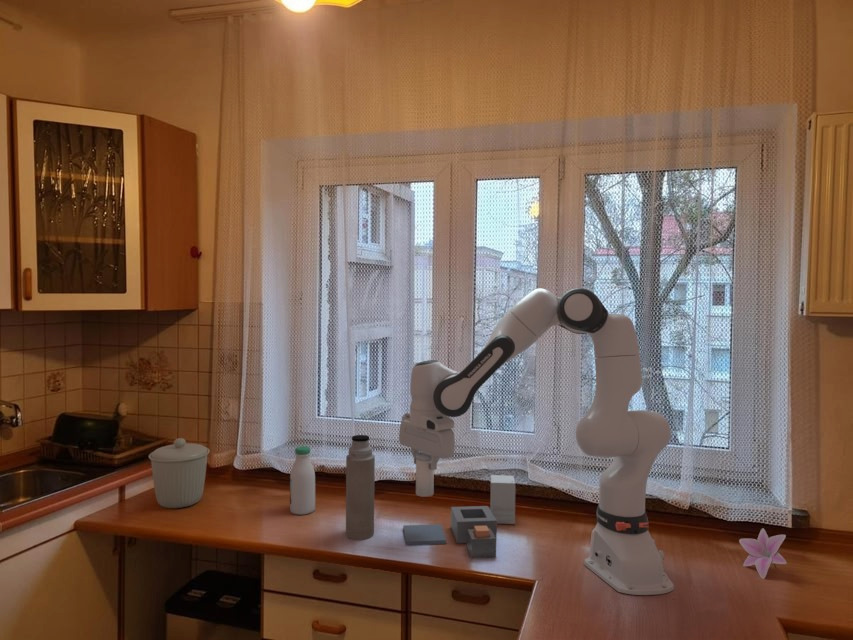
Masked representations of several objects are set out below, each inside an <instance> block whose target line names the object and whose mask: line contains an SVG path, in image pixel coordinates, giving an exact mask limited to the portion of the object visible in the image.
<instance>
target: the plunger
mask: <svg viewBox="0 0 853 640" xmlns="http://www.w3.org/2000/svg"><path fill="white" fill-rule="evenodd" d="M474 535H475V537H489V529H488V527H487V526H474Z"/></svg>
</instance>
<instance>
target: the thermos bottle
mask: <svg viewBox="0 0 853 640" xmlns="http://www.w3.org/2000/svg"><path fill="white" fill-rule="evenodd" d="M351 440H352V441H351V446H350V447H348V454H347V455H346V458H345V459H346V461H345V462H346V464H345V465H346V466H345V467H346V468H345V469H346V470H345V486H346V488H345V536H346V537H347V538H349V539H350V540H356V541H357V540H359V541H361V540H362V541H363V540H368V539H370V538H372V537H373V536H374V535H375V469H376V468H375V467H376V466H375V464H376V463H375V460H376V459H375V457H376V456H375V454H373V452H374V451H373V447H372V446H371V445H370V436H369V435H366V434H356V435H353V436H351Z"/></svg>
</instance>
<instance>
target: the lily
mask: <svg viewBox="0 0 853 640" xmlns="http://www.w3.org/2000/svg"><path fill="white" fill-rule="evenodd" d="M786 536H787V535H786V534H777V535H773V536H770V537H769V535H768V534H767V531H766V530H765V528H763V527H762V528H761V529H760V532H759V534H758V537H757V539H755V538H745V537H744V538H740V539H739V540H738V541H739V544H740V545H741V547H742V548H743V549H744V551H746V553H748V556H747V557H746V559H745V560H744V562H743V565H742V566H743V567H750V566H755V568H756V571H757V574H758V575H759V576H760V578H761V579H763V580H764V579H765V578H766V576H767V574H768V571H769V568H770V566H771V564H773V565H774V568H775V569H776V568H777V565H787V563H788V562H787V561H786V559H785V558H784V556H782V555H781V554H780V552H779V551H778V550H779V548H780V547H781V545H783V543H784V541H785V539H786V538H787V537H786ZM776 564H777V565H776Z"/></svg>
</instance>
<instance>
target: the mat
mask: <svg viewBox="0 0 853 640" xmlns="http://www.w3.org/2000/svg"><path fill="white" fill-rule="evenodd" d="M402 527H403V528H402V529H403V535H404V540H405V546H420V545H421V546H423V545H425V546H427V545H446V544H447V539H446V536H445V532H444V529H443V527H442V524H441V523H439V524H437V523H434V524H409V525H407V524H406V525H404V524H403V526H402Z"/></svg>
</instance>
